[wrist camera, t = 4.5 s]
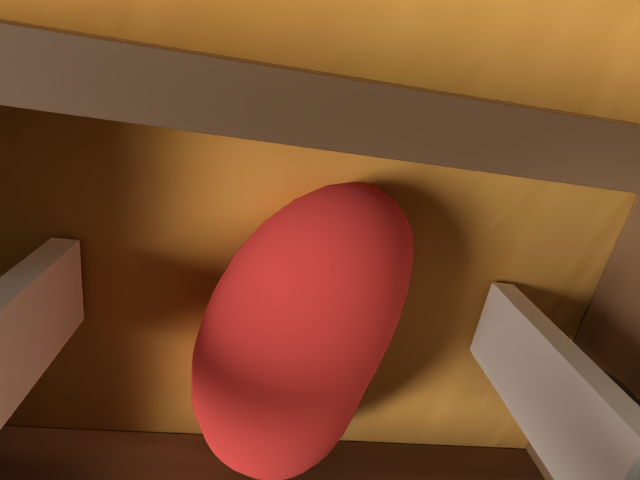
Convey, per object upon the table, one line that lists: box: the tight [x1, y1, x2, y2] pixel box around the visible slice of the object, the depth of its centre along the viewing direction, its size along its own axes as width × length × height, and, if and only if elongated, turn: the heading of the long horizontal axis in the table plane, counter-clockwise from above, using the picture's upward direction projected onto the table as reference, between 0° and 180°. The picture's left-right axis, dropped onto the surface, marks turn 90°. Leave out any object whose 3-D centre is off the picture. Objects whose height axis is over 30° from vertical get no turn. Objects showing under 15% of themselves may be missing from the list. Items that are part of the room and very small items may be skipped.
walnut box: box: [0, 20, 640, 480], centre depth 11 cm, size 14×23×6 cm, turn 81°
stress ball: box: [191, 182, 414, 480], centre depth 12 cm, size 5×9×6 cm, turn 148°
